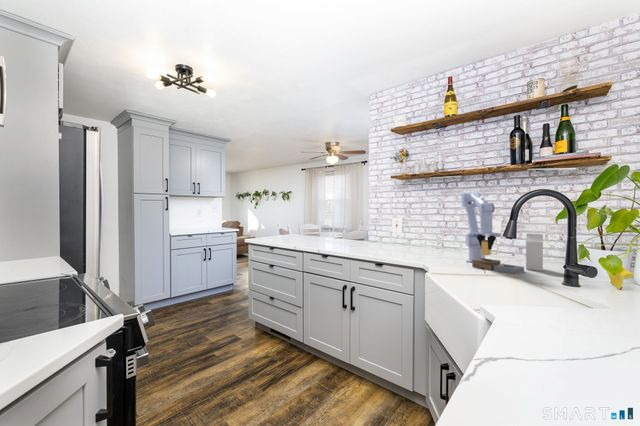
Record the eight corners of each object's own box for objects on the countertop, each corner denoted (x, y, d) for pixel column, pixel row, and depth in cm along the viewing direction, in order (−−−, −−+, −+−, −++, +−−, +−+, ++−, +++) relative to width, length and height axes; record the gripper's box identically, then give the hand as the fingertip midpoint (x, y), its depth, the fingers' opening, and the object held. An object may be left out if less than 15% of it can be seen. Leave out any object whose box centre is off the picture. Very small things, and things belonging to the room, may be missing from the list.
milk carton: (542, 271, 150) (543, 234, 150) (526, 269, 155) (526, 234, 154) (542, 268, 156) (542, 233, 156) (526, 267, 160) (526, 233, 160)
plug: (484, 253, 163) (484, 239, 163) (491, 254, 160) (491, 240, 160) (481, 254, 161) (481, 240, 161) (487, 255, 158) (487, 240, 158)
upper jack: (481, 265, 168) (481, 258, 168) (500, 267, 159) (500, 260, 159) (472, 266, 162) (472, 259, 162) (490, 270, 154) (490, 262, 154)
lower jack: (503, 268, 158) (503, 263, 158) (524, 271, 150) (524, 266, 150) (493, 270, 153) (493, 265, 153) (515, 274, 144) (515, 269, 144)
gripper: (469, 224, 164) (469, 248, 165) (496, 225, 152) (496, 251, 152) (476, 223, 168) (476, 247, 168) (503, 224, 156) (503, 250, 156)
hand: (486, 249), depth 161 cm, fingers closed on plug, 3 cm apart
